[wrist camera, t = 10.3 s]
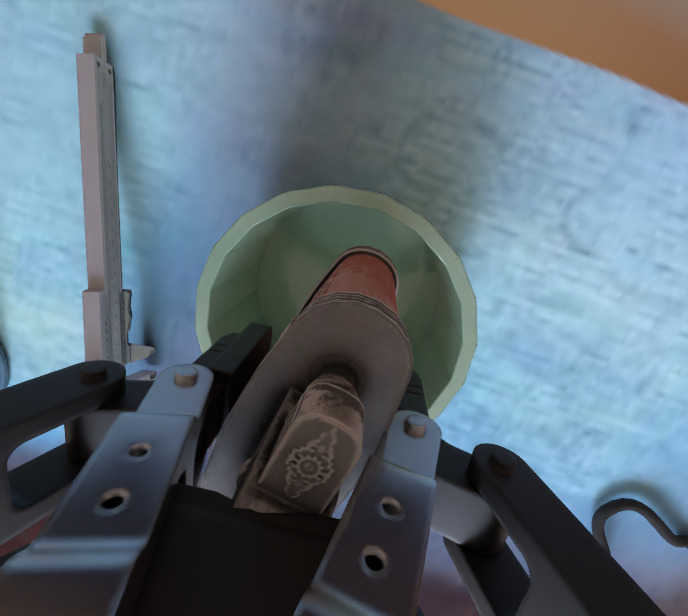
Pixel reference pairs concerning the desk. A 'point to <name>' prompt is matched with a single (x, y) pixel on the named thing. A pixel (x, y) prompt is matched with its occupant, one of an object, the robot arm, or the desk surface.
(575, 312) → the desk surface
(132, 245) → the desk surface
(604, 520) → the cable
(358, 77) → the desk surface
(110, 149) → the caliper
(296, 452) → the lighter
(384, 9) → the desk surface
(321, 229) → the pencil cup
